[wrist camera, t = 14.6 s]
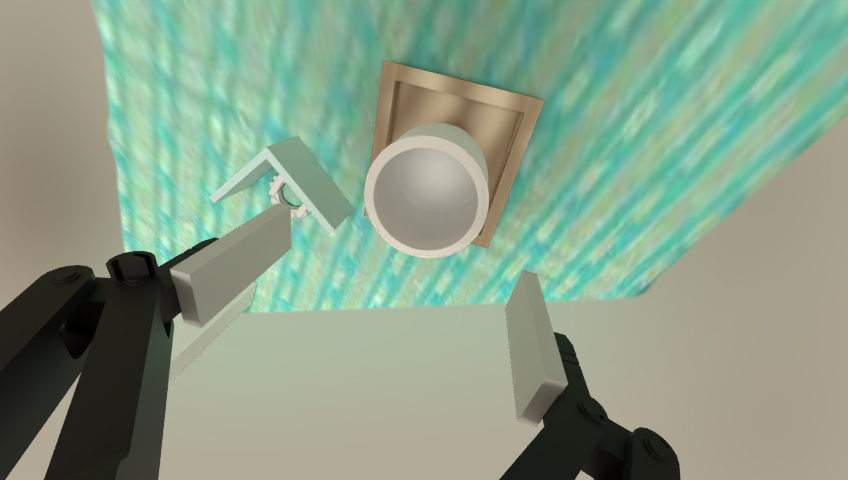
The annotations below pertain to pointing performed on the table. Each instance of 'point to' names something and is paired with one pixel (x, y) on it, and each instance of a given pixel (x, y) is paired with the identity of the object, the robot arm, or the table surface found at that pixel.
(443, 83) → the wooden tray
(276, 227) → the robot arm
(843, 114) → the table surface
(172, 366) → the milk
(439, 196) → the jar
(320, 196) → the l-shaped corner panel
